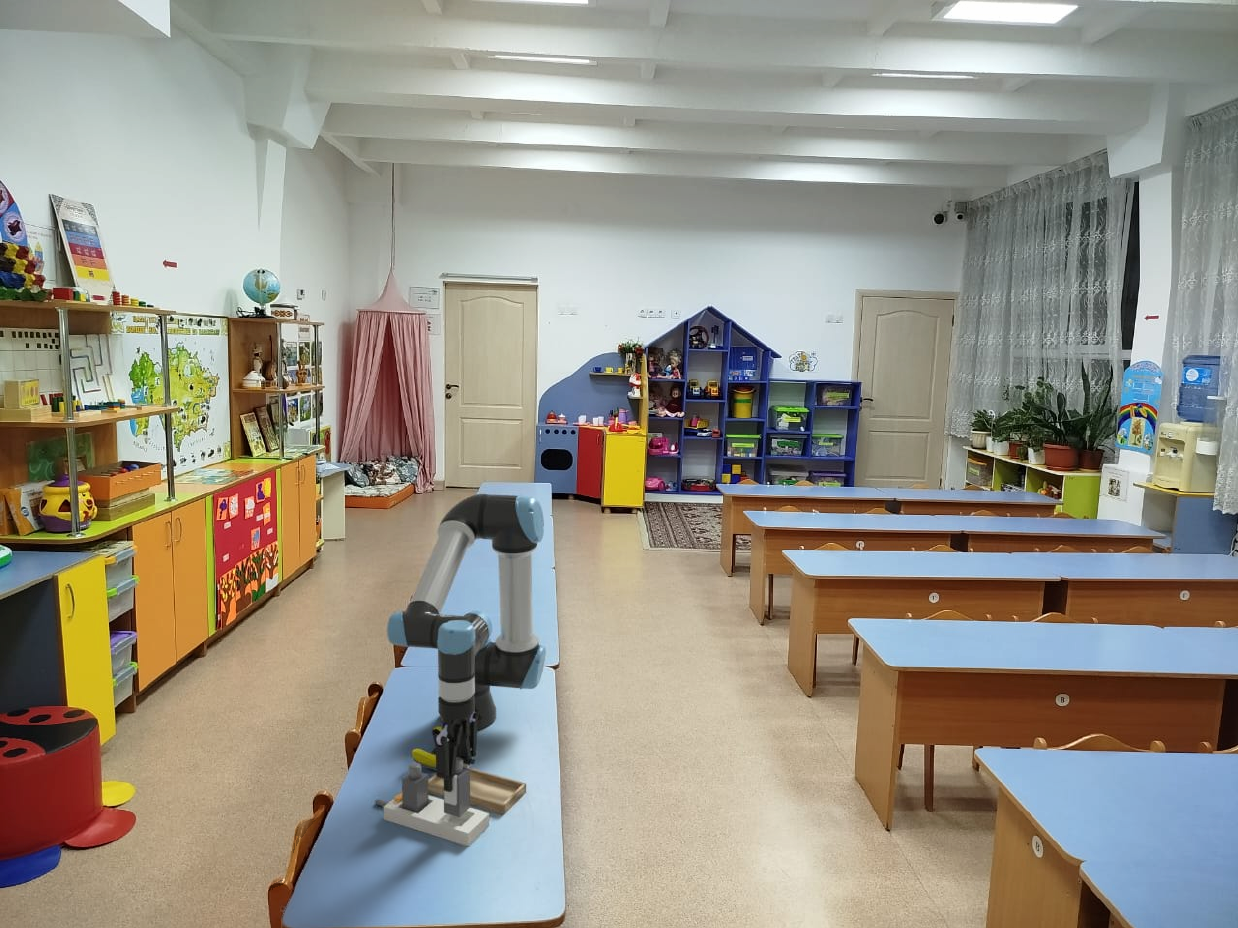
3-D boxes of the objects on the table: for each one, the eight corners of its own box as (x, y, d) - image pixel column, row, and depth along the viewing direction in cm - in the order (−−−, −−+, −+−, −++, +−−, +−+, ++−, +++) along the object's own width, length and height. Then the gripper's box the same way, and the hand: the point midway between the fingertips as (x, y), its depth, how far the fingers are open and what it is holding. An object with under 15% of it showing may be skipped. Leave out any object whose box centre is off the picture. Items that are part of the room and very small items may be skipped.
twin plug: (413, 806, 186) (413, 759, 184) (428, 811, 185) (428, 763, 183) (402, 816, 183) (401, 768, 181) (417, 821, 181) (416, 772, 179)
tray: (450, 770, 203) (450, 762, 202) (526, 792, 194) (526, 783, 194) (425, 791, 194) (425, 782, 193) (503, 814, 185) (503, 805, 185)
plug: (470, 807, 180) (470, 758, 178) (459, 817, 176) (459, 767, 174) (454, 802, 181) (454, 753, 179) (443, 812, 178) (443, 762, 176)
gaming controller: (408, 772, 202) (446, 778, 199) (408, 751, 201) (446, 757, 199) (435, 743, 216) (471, 748, 214) (435, 723, 215) (471, 728, 213)
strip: (387, 794, 192) (386, 779, 191) (489, 825, 181) (489, 809, 180) (363, 812, 185) (363, 796, 184) (468, 846, 174) (468, 829, 173)
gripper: (464, 676, 184) (465, 774, 187) (416, 707, 168) (418, 813, 172) (493, 683, 181) (493, 782, 185) (447, 715, 165) (448, 822, 169)
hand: (457, 797), depth 178 cm, fingers closed on plug, 4 cm apart
